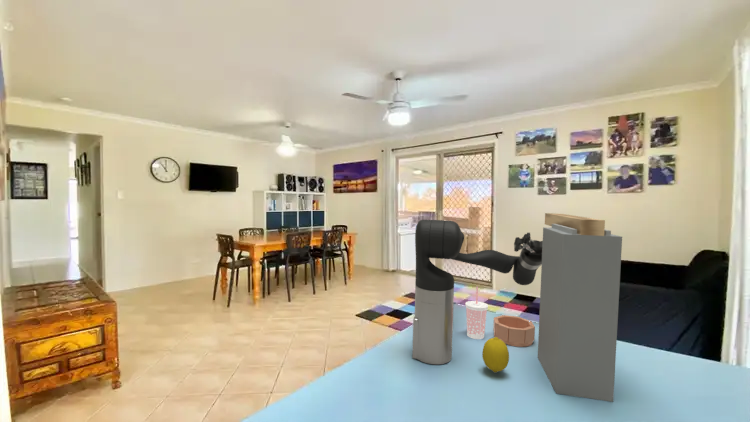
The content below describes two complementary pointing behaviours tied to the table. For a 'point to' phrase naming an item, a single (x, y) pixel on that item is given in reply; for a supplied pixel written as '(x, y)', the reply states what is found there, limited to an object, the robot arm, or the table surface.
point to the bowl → (514, 330)
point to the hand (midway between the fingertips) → (545, 236)
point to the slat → (577, 223)
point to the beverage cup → (476, 318)
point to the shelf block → (579, 311)
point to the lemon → (495, 354)
